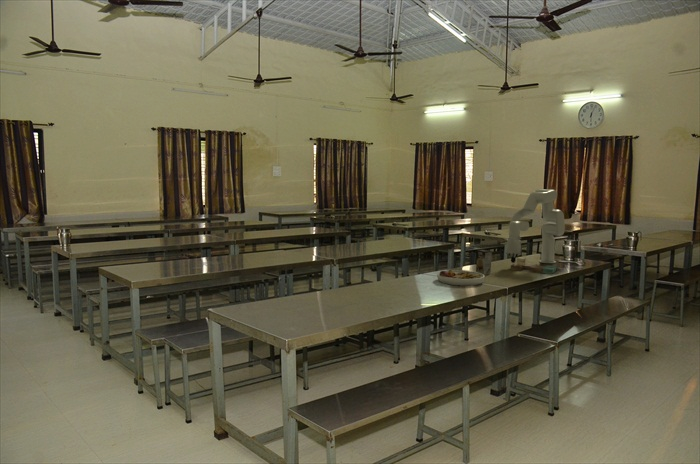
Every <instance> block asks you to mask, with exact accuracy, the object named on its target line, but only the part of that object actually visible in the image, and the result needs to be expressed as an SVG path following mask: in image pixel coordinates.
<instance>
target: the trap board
mask: <svg viewBox="0 0 700 464" xmlns="http://www.w3.org/2000/svg"><path fill="white" fill-rule="evenodd" d="M557 267H558V266H557V265H548V264H545V265H538V264H537V263H529V262H528V263H527V262H525V265H517V261H515V263H512V264H511V265H510V271H511V270H512V271H519V272H531V273H540V274H541V273H542V274H550V275H551V274H554V273H555V272H556V271H557Z"/></svg>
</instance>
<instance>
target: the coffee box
mask: <svg viewBox="0 0 700 464" xmlns="http://www.w3.org/2000/svg"><path fill="white" fill-rule="evenodd" d="M492 254H493V250H492V251H490V250H487V249H476V260H475V261H476V262H475V263H476V267H475V272H477V273H481V274H483V275H491V273H492V258H493V257H492V256H493V255H492Z"/></svg>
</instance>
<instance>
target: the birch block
mask: <svg viewBox="0 0 700 464" xmlns="http://www.w3.org/2000/svg"><path fill="white" fill-rule="evenodd" d="M516 262H517V265H525V263H526V257H521V256H520V257H518V256H517V257H516Z"/></svg>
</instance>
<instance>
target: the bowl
mask: <svg viewBox="0 0 700 464" xmlns="http://www.w3.org/2000/svg"><path fill="white" fill-rule="evenodd" d="M436 277H437V279H438V281H439V282H441V283H443V284H445V285H450V286H458V285H460V286H459V287H463V286H464V287H466V286H467V287H469V286H471V285H472V286H478V285H480V284H482V283H483V282H484V281H485V277H486V276H485V274H481V273H477V272H476V271H471V270H458V269H457V270H453V269H449V270H441V271H438V272H437V273H436ZM472 286H471V287H472Z"/></svg>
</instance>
